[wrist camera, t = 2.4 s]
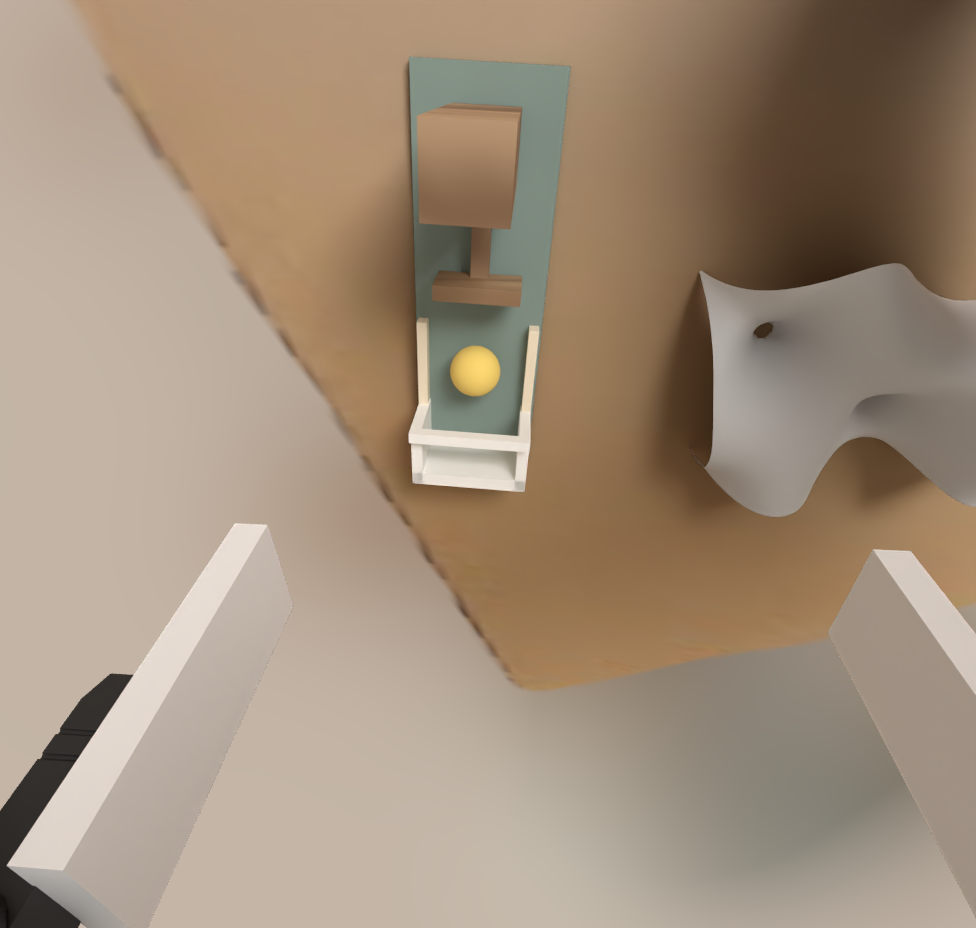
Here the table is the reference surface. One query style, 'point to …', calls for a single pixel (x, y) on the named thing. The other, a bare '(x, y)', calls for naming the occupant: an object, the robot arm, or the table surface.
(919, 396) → the sculpture
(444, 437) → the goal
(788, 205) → the table surface
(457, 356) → the ball
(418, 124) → the tan l-shaped block
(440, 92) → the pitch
